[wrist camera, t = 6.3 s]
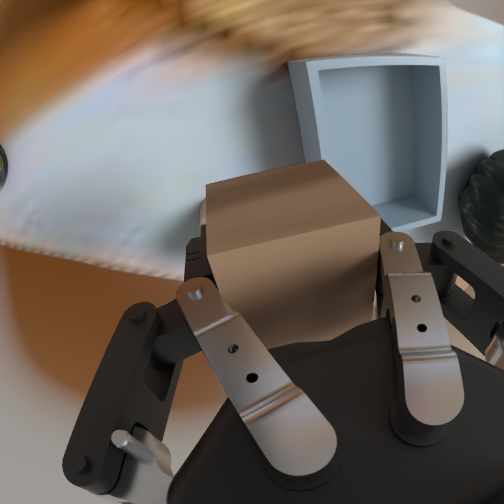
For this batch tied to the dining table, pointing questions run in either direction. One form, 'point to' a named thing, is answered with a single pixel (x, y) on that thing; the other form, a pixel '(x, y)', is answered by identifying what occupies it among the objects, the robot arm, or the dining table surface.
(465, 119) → the dining table surface
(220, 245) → the walnut cube
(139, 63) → the dining table surface
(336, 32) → the dining table surface
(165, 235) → the dining table surface
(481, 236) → the squash
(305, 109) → the tote
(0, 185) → the supplement container
